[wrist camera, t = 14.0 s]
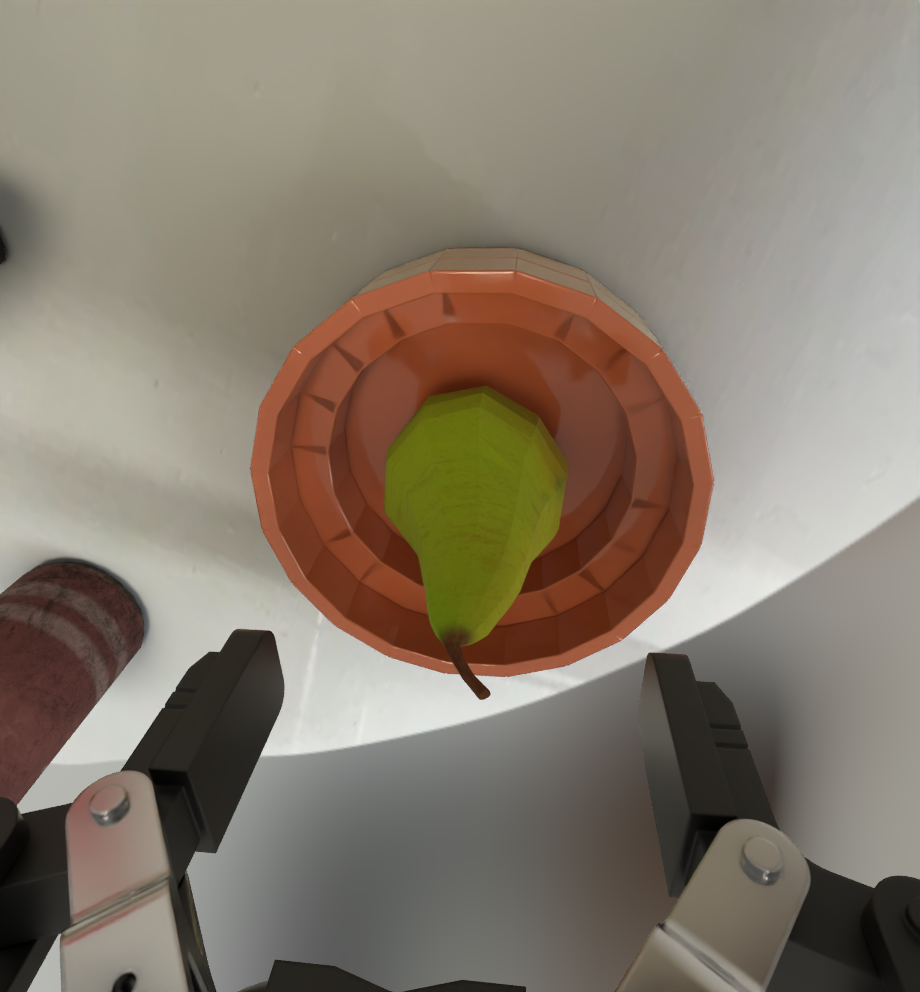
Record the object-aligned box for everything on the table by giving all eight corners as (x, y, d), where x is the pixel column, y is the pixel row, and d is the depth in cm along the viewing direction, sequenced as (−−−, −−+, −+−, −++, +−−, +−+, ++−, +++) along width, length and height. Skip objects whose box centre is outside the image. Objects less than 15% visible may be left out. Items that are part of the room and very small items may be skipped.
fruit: (377, 385, 23) (246, 586, 12) (546, 346, 21) (566, 531, 11) (426, 533, 25) (354, 799, 15) (578, 506, 24) (618, 775, 14)
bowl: (706, 243, 20) (757, 268, 15) (650, 599, 27) (674, 686, 22) (274, 247, 21) (209, 271, 17) (325, 585, 28) (288, 665, 24)
